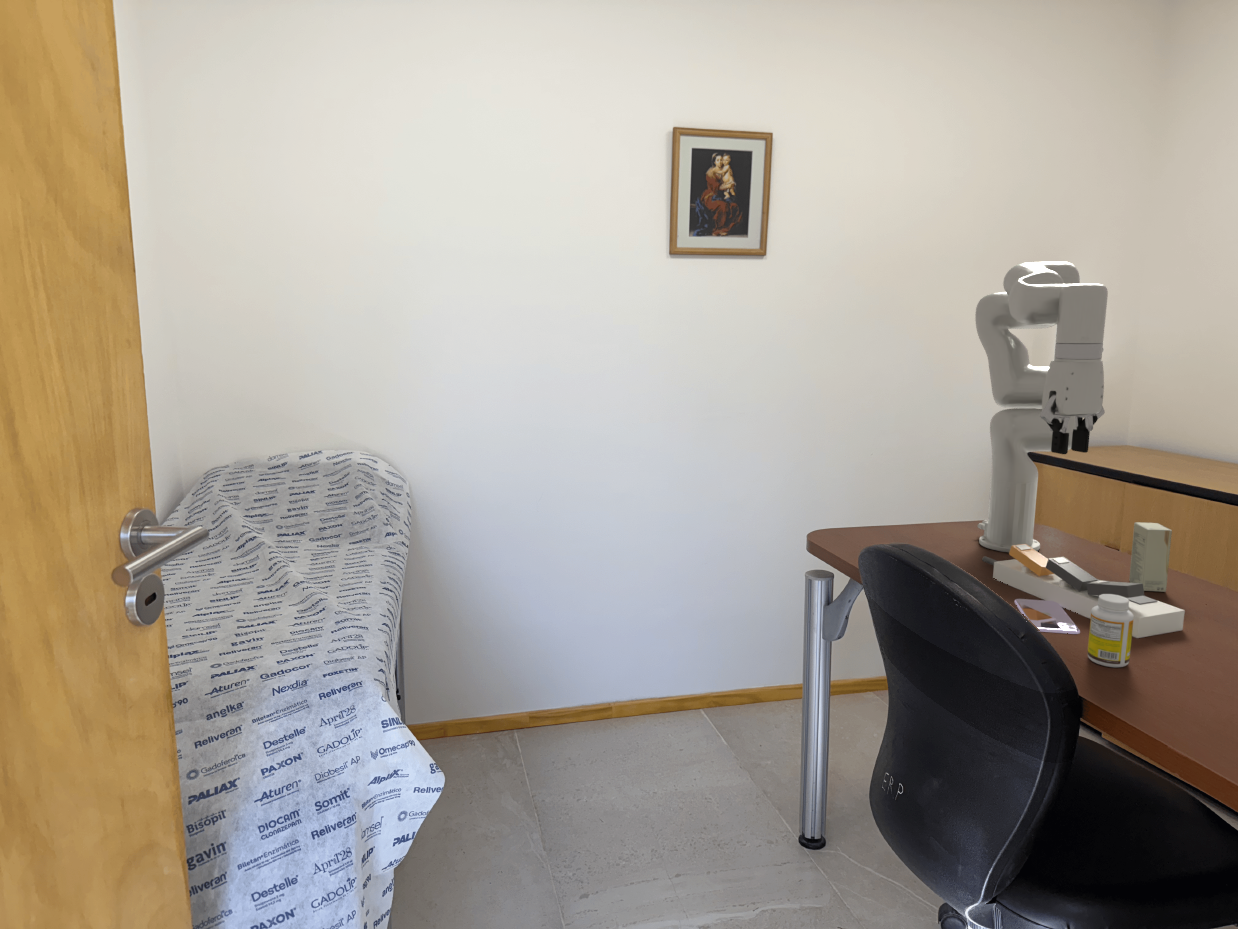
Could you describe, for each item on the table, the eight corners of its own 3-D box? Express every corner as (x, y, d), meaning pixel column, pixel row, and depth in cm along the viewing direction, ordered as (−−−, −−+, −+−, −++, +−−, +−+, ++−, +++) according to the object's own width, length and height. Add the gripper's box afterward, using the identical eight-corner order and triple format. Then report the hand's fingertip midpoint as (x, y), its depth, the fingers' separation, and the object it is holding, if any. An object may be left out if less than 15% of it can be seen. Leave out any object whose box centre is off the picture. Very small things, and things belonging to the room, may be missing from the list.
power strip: (964, 567, 169) (966, 546, 168) (1003, 561, 172) (1004, 541, 171) (1137, 638, 131) (1140, 611, 130) (1182, 630, 134) (1185, 604, 133)
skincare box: (1166, 592, 152) (1174, 530, 149) (1141, 591, 152) (1148, 529, 150) (1151, 581, 158) (1158, 522, 155) (1127, 580, 159) (1133, 521, 156)
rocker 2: (1045, 567, 149) (1048, 557, 148) (1060, 565, 150) (1063, 555, 149) (1079, 591, 142) (1082, 581, 141) (1094, 589, 143) (1098, 579, 142)
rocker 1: (1008, 554, 158) (1011, 544, 157) (1023, 552, 159) (1026, 543, 158) (1039, 576, 151) (1042, 566, 150) (1053, 574, 152) (1057, 564, 151)
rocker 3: (1087, 594, 141) (1086, 582, 141) (1103, 592, 142) (1101, 580, 142) (1128, 597, 133) (1126, 585, 133) (1144, 595, 134) (1142, 582, 134)
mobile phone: (1058, 600, 147) (1082, 631, 133) (1057, 605, 147) (1081, 636, 133) (1013, 597, 149) (1032, 627, 135) (1012, 602, 149) (1031, 632, 135)
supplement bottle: (1111, 652, 126) (1118, 591, 124) (1137, 667, 120) (1144, 603, 119) (1078, 654, 125) (1084, 592, 124) (1102, 670, 120) (1109, 605, 118)
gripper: (1096, 351, 151) (1087, 446, 154) (1025, 353, 146) (1017, 452, 150) (1131, 352, 144) (1121, 452, 147) (1058, 355, 139) (1049, 458, 143)
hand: (1069, 451), depth 148 cm, fingers open, 4 cm apart
